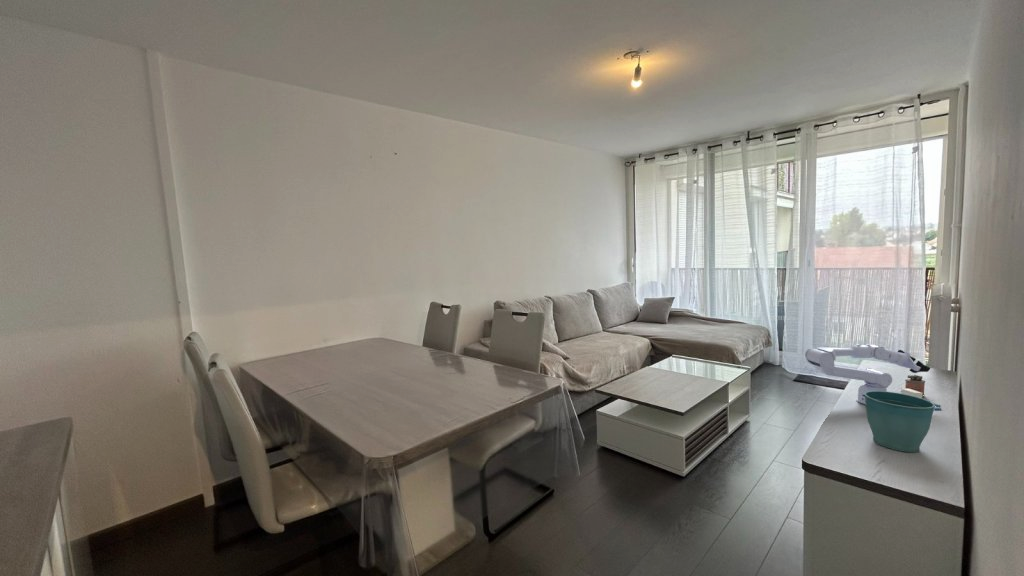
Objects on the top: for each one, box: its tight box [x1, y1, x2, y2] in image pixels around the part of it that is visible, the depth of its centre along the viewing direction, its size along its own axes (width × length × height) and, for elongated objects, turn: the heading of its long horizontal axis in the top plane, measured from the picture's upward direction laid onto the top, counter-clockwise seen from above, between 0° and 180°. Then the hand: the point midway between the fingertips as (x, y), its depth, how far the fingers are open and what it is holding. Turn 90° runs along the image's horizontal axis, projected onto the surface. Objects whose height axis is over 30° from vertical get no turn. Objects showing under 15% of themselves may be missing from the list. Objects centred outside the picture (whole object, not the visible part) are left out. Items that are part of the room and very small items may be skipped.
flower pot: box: [864, 391, 935, 453], centre depth 143 cm, size 18×18×17 cm
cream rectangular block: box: [900, 388, 923, 399], centre depth 182 cm, size 4×6×7 cm, turn 3°
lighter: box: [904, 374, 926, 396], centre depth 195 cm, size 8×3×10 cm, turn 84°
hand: (921, 365), depth 183 cm, fingers open, 7 cm apart
